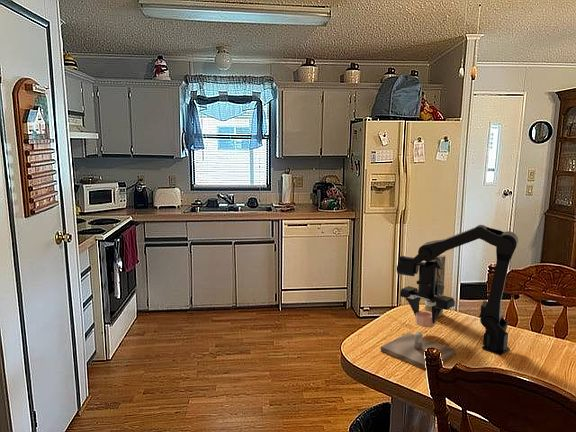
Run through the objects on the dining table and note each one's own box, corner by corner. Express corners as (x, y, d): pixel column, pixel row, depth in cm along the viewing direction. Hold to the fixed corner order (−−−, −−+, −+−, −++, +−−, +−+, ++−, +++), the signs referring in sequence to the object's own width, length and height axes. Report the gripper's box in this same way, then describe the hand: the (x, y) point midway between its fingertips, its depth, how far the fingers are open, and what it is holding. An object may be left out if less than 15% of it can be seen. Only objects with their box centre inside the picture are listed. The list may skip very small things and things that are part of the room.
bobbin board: (455, 354, 145) (456, 335, 144) (429, 371, 134) (429, 351, 133) (408, 336, 158) (409, 319, 157) (380, 350, 148) (381, 332, 147)
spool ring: (438, 323, 159) (438, 314, 158) (428, 328, 155) (428, 319, 154) (422, 318, 164) (422, 309, 163) (412, 323, 160) (412, 313, 159)
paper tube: (443, 318, 174) (446, 256, 170) (425, 317, 175) (428, 255, 171) (441, 311, 181) (444, 252, 177) (424, 310, 182) (426, 251, 178)
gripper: (463, 279, 155) (461, 321, 157) (416, 268, 169) (415, 307, 171) (447, 286, 147) (445, 330, 150) (399, 274, 161) (398, 315, 164)
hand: (425, 320), depth 159 cm, fingers closed on spool ring, 6 cm apart
